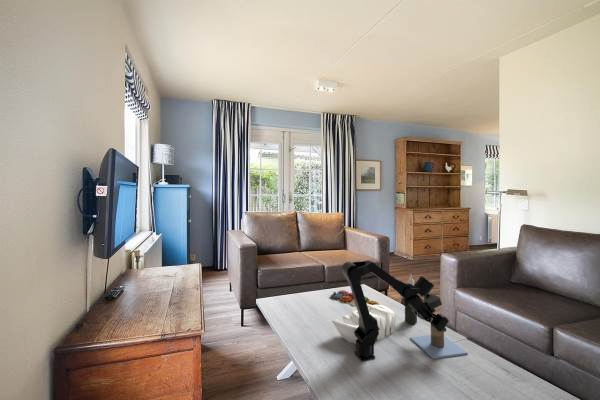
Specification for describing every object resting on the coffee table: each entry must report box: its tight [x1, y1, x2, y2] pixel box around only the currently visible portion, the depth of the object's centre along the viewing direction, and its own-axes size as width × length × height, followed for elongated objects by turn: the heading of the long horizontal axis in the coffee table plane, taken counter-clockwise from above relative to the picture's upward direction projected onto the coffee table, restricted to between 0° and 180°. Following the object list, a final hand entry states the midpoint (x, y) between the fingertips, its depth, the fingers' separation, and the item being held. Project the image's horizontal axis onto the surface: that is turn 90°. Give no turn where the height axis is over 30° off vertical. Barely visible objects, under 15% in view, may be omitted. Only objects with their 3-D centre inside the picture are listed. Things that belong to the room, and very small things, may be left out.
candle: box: [404, 273, 418, 326], centre depth 145 cm, size 5×5×25 cm
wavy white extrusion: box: [331, 302, 397, 345], centre depth 134 cm, size 35×16×11 cm, turn 126°
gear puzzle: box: [329, 289, 380, 308], centre depth 175 cm, size 31×16×4 cm, turn 47°
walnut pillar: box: [430, 319, 445, 348], centre depth 122 cm, size 5×5×10 cm
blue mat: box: [410, 334, 469, 360], centre depth 122 cm, size 16×16×1 cm
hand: (440, 327), depth 122 cm, fingers open, 6 cm apart
